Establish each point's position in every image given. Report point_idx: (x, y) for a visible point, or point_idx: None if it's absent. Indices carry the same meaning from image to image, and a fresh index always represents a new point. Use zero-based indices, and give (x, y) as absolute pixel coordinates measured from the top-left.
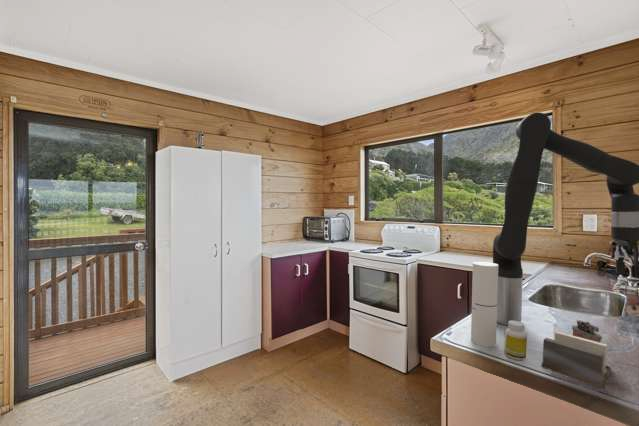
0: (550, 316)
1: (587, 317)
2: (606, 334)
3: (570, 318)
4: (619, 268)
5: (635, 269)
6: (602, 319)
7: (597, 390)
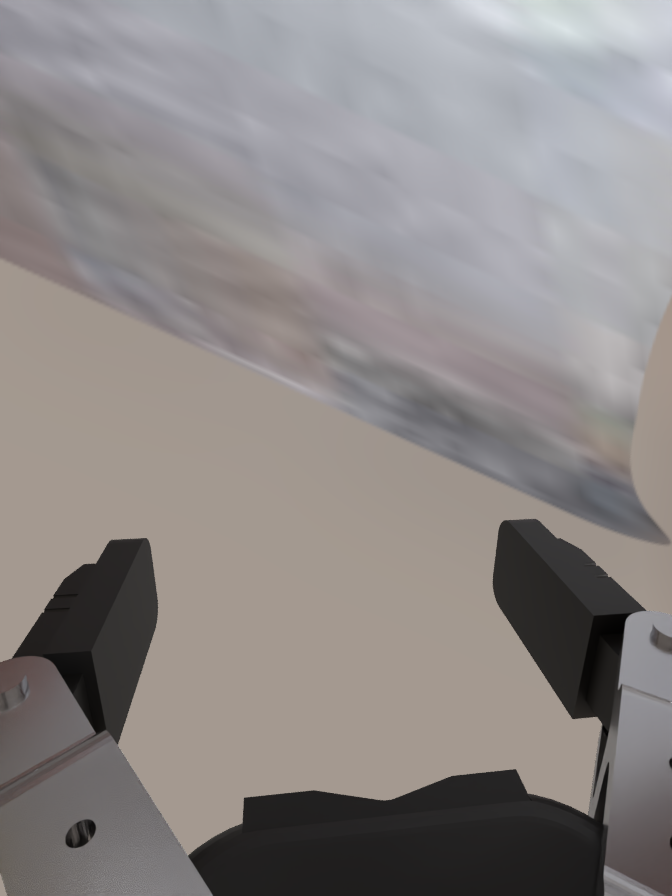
0: (582, 23)
1: (596, 298)
2: (314, 276)
3: (560, 171)
4: (525, 574)
5: (26, 641)
6: (572, 372)
7: None
